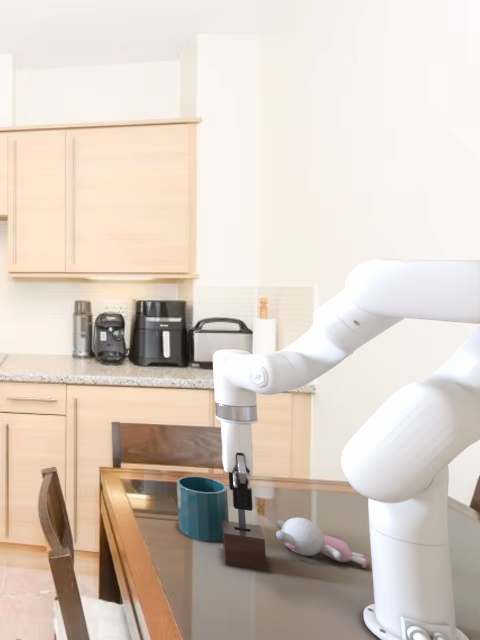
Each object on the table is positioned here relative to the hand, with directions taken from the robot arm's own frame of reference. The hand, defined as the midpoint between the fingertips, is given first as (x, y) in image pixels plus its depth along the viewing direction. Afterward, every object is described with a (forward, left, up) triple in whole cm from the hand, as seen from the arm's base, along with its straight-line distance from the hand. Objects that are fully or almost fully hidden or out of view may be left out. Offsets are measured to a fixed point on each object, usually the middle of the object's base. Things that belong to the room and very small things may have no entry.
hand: (240, 499), depth 102 cm
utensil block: (0, 0, -12) cm, 12 cm away
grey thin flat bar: (0, 0, -12) cm, 12 cm away
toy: (+7, -14, -12) cm, 20 cm away
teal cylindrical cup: (+11, +7, -12) cm, 18 cm away
